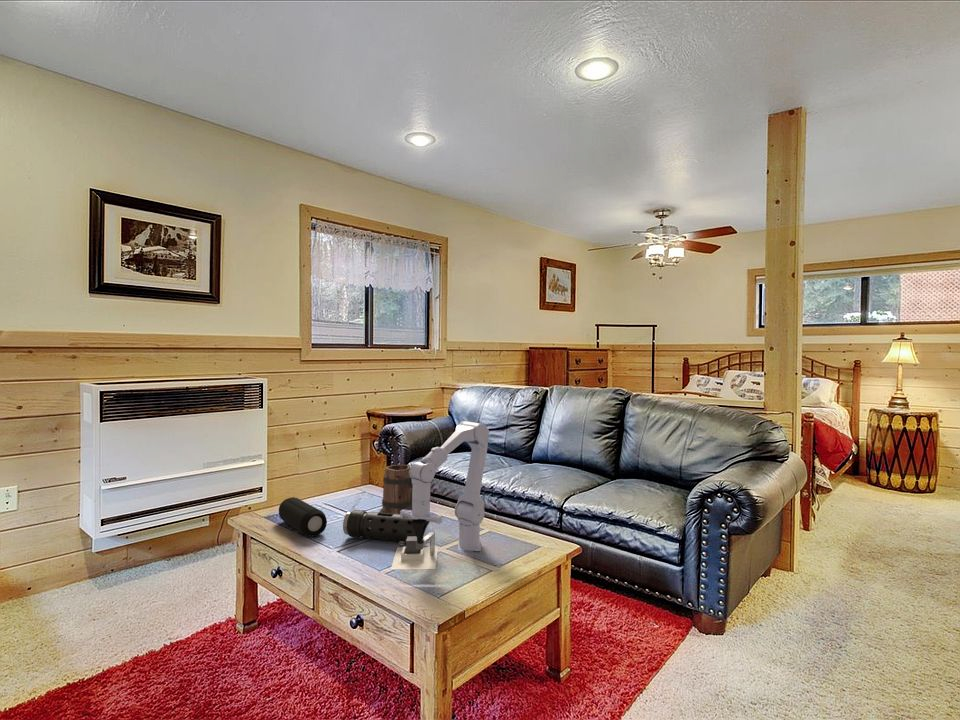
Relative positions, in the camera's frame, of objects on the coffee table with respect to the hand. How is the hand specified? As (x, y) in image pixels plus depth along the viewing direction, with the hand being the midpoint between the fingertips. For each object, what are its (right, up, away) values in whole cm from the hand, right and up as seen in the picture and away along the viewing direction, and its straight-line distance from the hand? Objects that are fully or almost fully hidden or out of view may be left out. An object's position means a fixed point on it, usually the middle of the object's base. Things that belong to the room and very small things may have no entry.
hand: (420, 542), depth 167 cm
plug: (-4, -7, +6) cm, 10 cm away
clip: (+2, -7, +2) cm, 7 cm away
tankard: (-13, -7, +49) cm, 51 cm away
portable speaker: (-49, -7, +33) cm, 60 cm away
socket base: (-2, -8, +5) cm, 9 cm away
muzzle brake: (-16, -7, +22) cm, 28 cm away
